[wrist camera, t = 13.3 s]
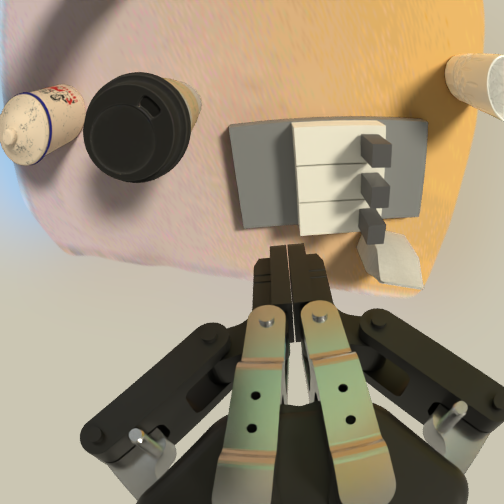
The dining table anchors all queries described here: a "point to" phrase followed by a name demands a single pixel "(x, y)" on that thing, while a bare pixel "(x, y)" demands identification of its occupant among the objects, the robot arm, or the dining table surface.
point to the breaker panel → (279, 174)
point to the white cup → (478, 81)
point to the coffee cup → (140, 126)
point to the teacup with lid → (40, 122)
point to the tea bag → (392, 261)
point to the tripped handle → (375, 190)
